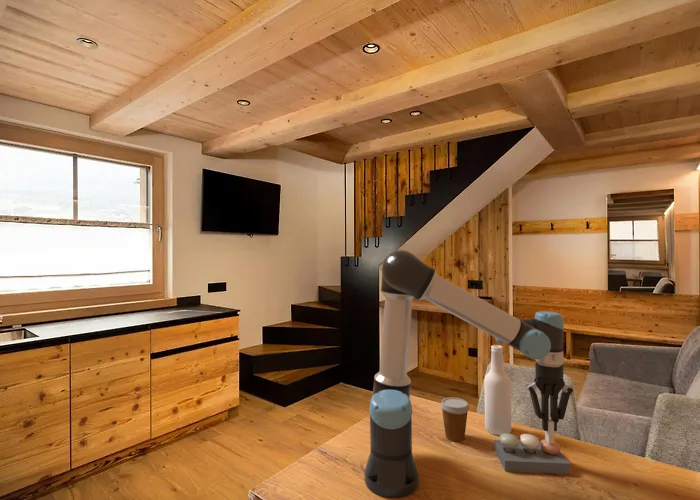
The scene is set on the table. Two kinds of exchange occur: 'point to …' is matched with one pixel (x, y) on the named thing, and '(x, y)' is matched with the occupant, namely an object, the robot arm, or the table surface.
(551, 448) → the terracotta button
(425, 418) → the table surface
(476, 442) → the table surface
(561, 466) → the button board
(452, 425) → the disposable coffee cup
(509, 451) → the sage button
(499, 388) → the alcohol
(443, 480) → the table surface
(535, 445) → the ivory button
